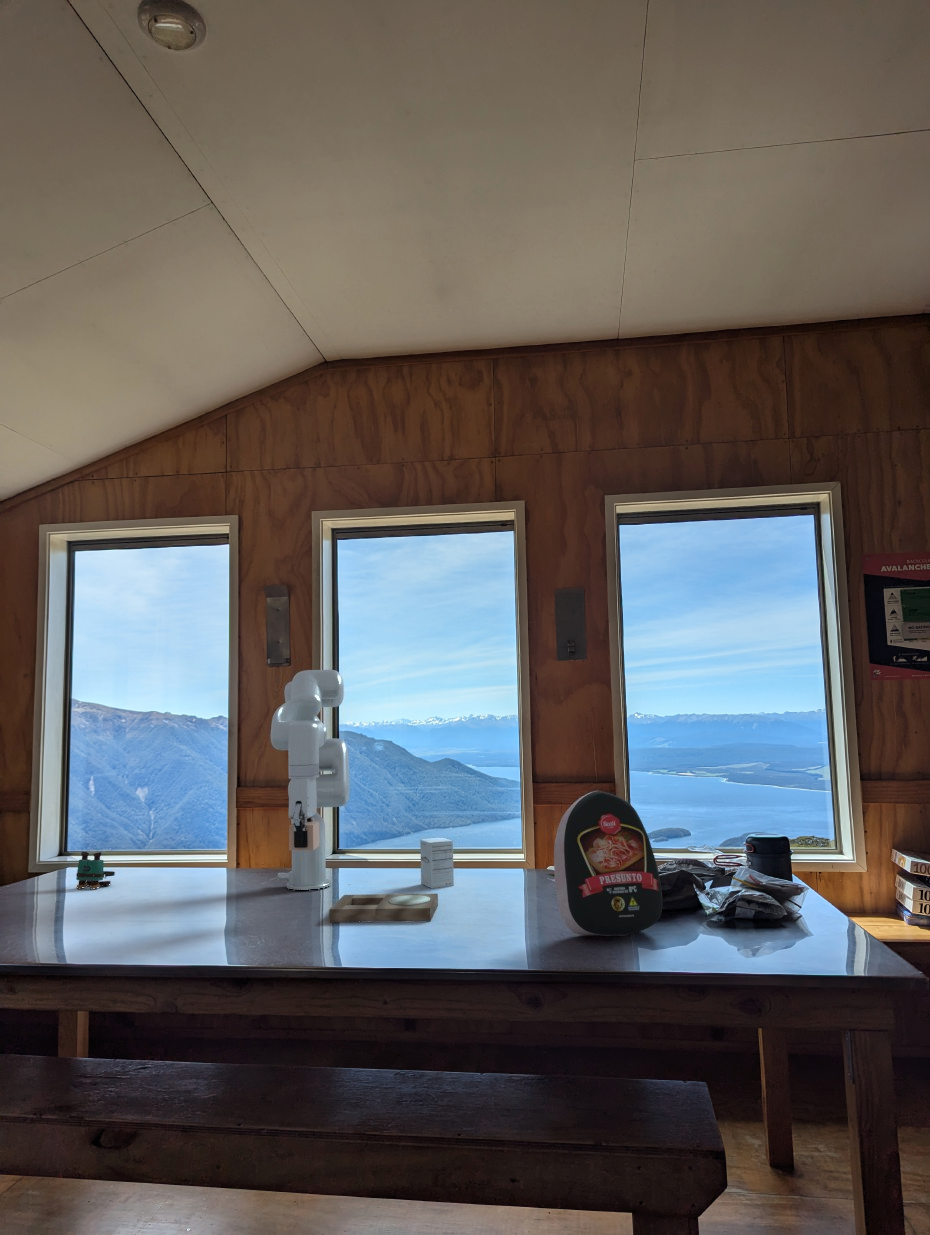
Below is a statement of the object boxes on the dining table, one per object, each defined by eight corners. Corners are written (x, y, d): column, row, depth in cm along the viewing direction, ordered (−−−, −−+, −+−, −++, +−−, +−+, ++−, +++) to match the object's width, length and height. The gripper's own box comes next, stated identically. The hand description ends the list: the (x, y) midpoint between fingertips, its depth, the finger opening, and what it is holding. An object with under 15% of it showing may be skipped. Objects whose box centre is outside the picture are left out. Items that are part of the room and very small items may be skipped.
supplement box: (420, 884, 242) (419, 839, 243) (444, 881, 245) (443, 836, 246) (430, 888, 235) (429, 842, 237) (454, 885, 238) (453, 839, 240)
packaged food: (579, 951, 170) (572, 799, 174) (544, 928, 189) (539, 791, 192) (676, 940, 176) (668, 793, 179) (633, 919, 195) (627, 786, 198)
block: (289, 850, 208) (289, 825, 209) (296, 846, 214) (295, 821, 215) (313, 850, 208) (313, 825, 208) (319, 845, 214) (319, 821, 214)
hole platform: (329, 922, 200) (329, 908, 200) (344, 906, 216) (344, 893, 216) (430, 921, 198) (430, 906, 199) (438, 905, 214) (437, 892, 215)
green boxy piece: (121, 850, 258) (98, 852, 248) (118, 887, 256) (94, 890, 246) (96, 850, 260) (73, 852, 251) (93, 886, 258) (69, 889, 249)
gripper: (298, 769, 221) (299, 839, 220) (279, 775, 204) (279, 851, 203) (326, 768, 221) (327, 839, 219) (309, 774, 204) (310, 851, 202)
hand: (304, 844), depth 211 cm, fingers closed on block, 6 cm apart
